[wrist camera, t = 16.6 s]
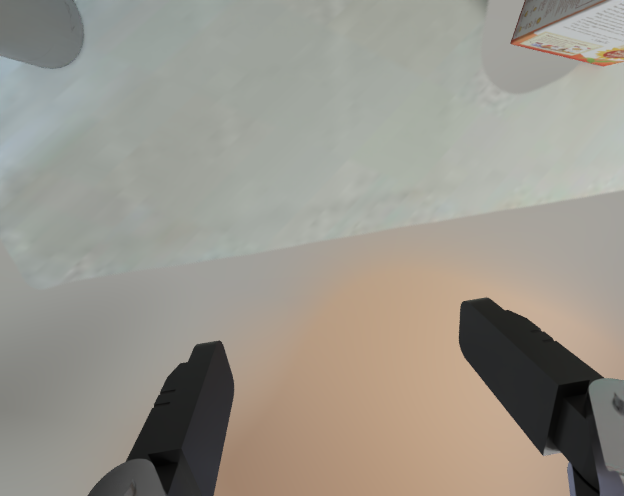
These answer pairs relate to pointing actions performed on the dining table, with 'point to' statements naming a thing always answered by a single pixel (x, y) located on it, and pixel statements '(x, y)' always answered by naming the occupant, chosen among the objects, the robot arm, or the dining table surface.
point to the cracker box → (573, 29)
